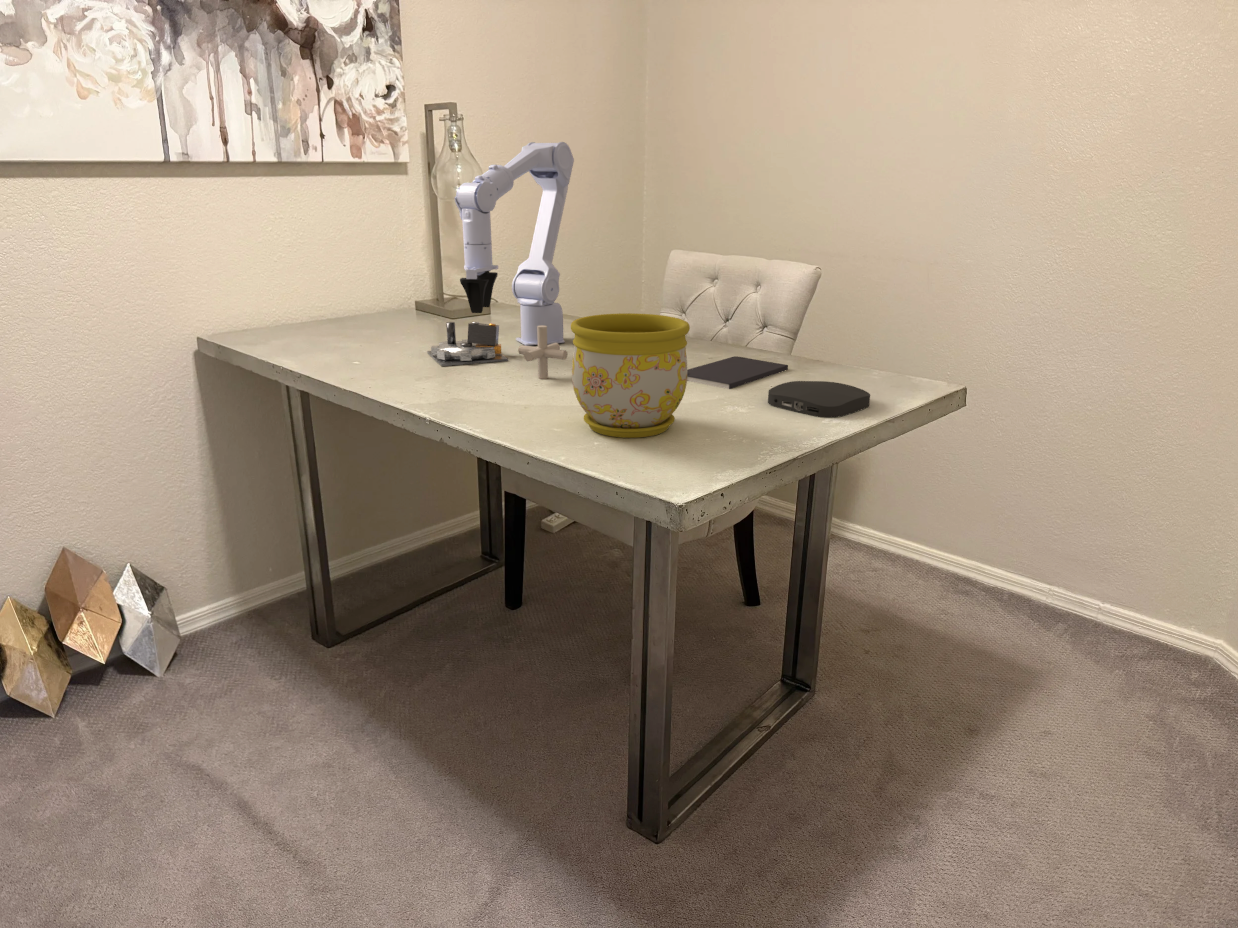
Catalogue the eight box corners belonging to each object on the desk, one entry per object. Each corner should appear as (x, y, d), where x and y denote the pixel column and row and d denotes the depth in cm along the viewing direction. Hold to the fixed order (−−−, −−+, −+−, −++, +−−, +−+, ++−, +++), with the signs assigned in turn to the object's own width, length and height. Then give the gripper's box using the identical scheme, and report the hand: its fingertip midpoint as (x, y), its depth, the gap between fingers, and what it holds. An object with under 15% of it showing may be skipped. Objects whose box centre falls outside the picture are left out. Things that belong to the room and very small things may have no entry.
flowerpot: (680, 410, 143) (683, 313, 137) (692, 444, 126) (696, 333, 120) (572, 411, 142) (571, 312, 137) (570, 444, 125) (569, 333, 120)
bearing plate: (490, 348, 190) (490, 346, 190) (508, 361, 178) (507, 358, 178) (427, 353, 185) (427, 351, 185) (441, 366, 173) (441, 364, 173)
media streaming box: (877, 406, 147) (879, 389, 146) (830, 422, 138) (832, 404, 137) (806, 390, 157) (808, 375, 156) (758, 405, 148) (759, 388, 147)
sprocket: (467, 344, 191) (466, 316, 189) (515, 352, 183) (514, 324, 181) (417, 354, 180) (415, 325, 178) (465, 364, 172) (464, 334, 170)
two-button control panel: (498, 344, 183) (499, 324, 182) (495, 345, 180) (496, 325, 179) (470, 340, 183) (471, 321, 182) (467, 342, 180) (468, 322, 179)
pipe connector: (507, 380, 162) (504, 328, 159) (535, 369, 170) (534, 320, 167) (551, 386, 158) (550, 333, 154) (578, 375, 166) (578, 324, 163)
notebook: (729, 392, 157) (787, 372, 172) (729, 383, 156) (788, 364, 172) (674, 381, 165) (734, 363, 180) (674, 373, 164) (735, 355, 179)
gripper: (489, 247, 168) (492, 315, 172) (503, 241, 182) (506, 304, 186) (454, 246, 168) (458, 315, 173) (471, 240, 182) (474, 304, 187)
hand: (480, 310), depth 180 cm, fingers open, 7 cm apart
